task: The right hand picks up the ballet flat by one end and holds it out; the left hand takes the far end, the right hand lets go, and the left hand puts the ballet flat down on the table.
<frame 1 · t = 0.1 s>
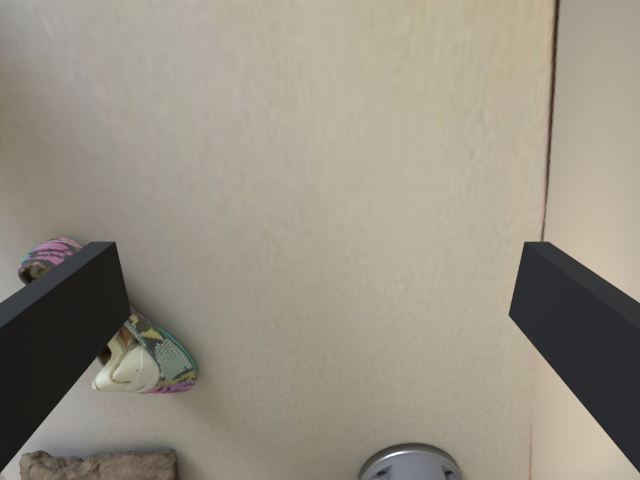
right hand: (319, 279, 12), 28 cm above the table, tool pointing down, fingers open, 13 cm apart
ballet flat: (126, 315, 46), on the table
stone: (115, 473, 57), on the table
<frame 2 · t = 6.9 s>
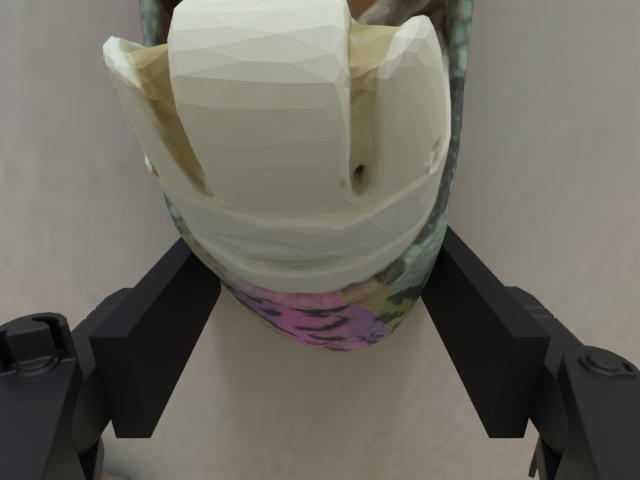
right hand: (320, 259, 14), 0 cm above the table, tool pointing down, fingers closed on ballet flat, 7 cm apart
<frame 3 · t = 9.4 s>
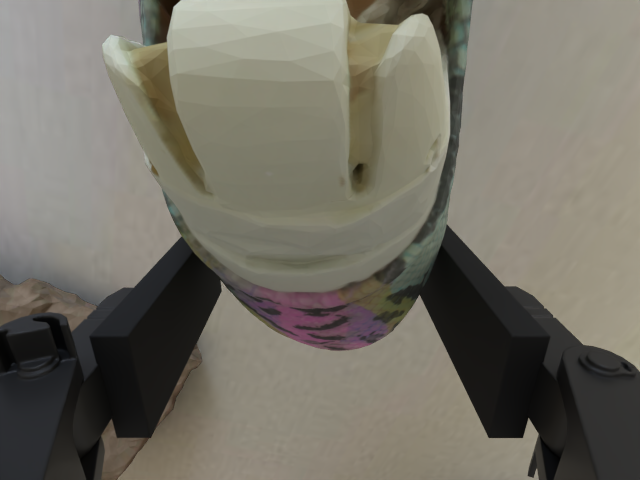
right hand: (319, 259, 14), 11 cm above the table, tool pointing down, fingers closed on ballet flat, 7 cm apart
stone: (49, 340, 28), on the table
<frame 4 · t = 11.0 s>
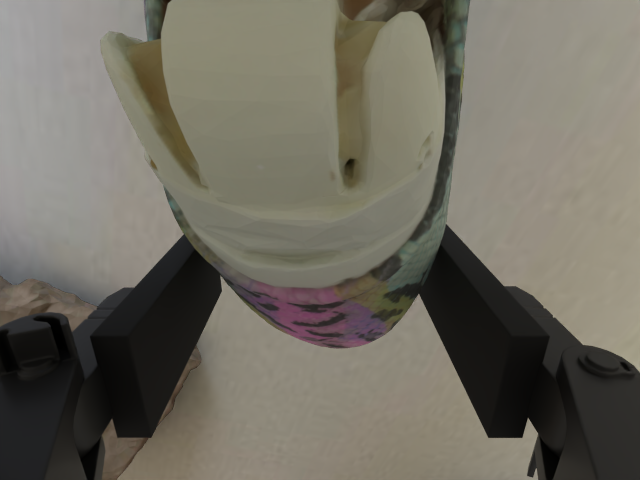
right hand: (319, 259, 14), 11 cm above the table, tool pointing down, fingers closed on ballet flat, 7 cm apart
stone: (49, 340, 28), on the table
when the right hand's fingers open (11 cm above the table, at t = 12.2 s): ballet flat stays where it is, held by the left hand.
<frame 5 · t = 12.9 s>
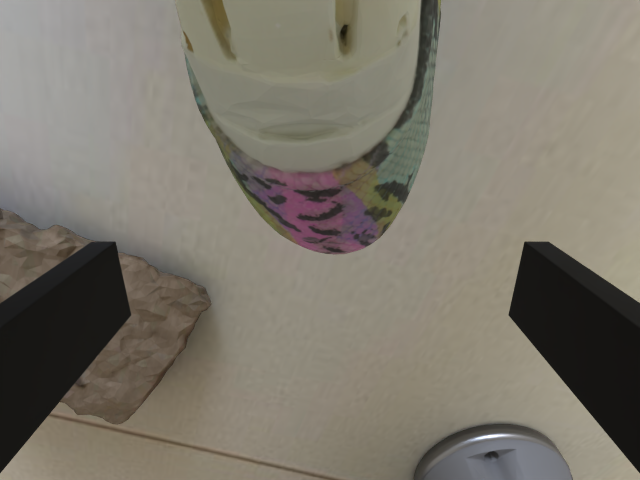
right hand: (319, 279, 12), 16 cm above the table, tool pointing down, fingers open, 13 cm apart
stone: (71, 287, 31), on the table
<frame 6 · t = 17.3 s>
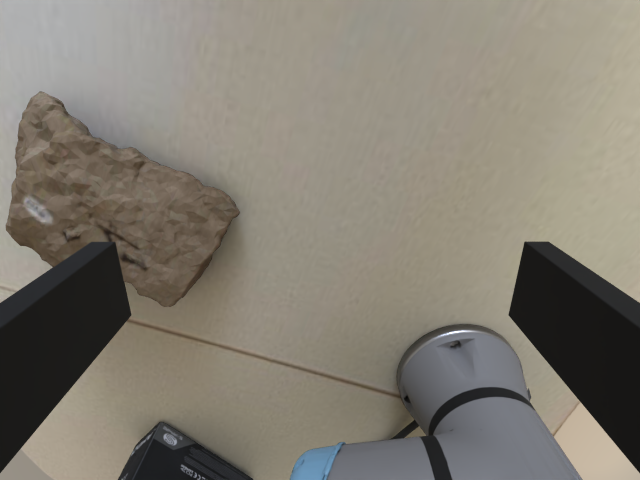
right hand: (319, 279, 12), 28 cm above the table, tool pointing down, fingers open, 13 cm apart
graphics card box: (197, 456, 55), on the table
stone: (133, 203, 41), on the table
when the left hand's fingers open (4 cm above the table, at t = 23.6 s): ballet flat stays where it is, on the table.
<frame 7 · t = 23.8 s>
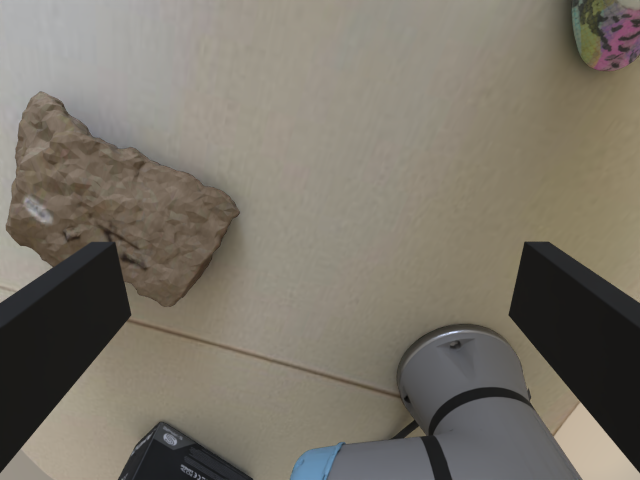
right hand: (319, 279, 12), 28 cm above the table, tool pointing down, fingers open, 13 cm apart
graphics card box: (197, 456, 55), on the table
stone: (133, 203, 41), on the table
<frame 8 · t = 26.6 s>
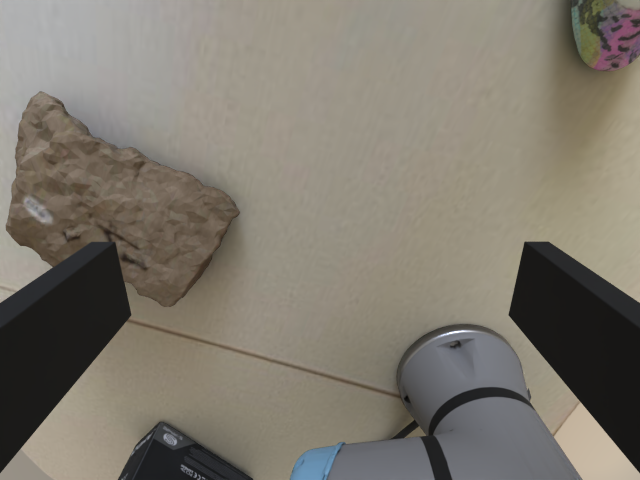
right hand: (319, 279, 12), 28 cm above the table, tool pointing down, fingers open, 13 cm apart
graphics card box: (197, 456, 55), on the table
stone: (133, 203, 41), on the table
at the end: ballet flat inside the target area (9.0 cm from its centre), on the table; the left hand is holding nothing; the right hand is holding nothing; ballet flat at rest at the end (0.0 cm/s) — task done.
